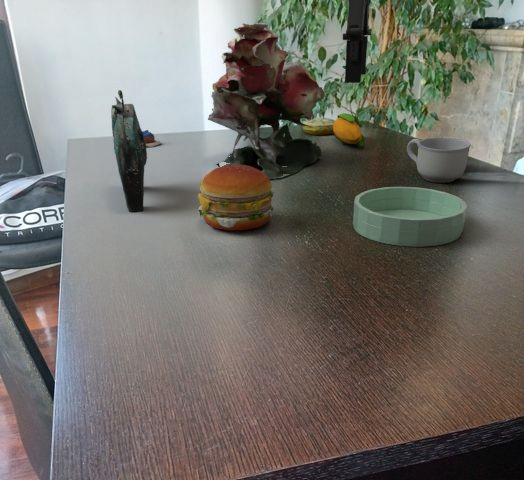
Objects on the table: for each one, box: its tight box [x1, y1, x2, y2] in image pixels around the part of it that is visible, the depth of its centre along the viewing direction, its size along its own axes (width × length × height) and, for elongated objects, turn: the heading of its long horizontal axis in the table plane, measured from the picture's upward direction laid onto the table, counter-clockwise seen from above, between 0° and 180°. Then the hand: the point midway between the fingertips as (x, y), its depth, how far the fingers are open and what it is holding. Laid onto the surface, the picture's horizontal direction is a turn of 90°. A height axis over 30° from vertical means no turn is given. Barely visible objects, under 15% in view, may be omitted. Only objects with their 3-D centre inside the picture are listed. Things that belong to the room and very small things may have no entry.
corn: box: [332, 112, 366, 147], centre depth 155 cm, size 7×8×20 cm
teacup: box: [406, 136, 472, 184], centre depth 125 cm, size 14×11×8 cm
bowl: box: [352, 186, 468, 248], centre depth 98 cm, size 19×19×4 cm
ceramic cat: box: [110, 89, 148, 213], centre depth 111 cm, size 20×6×20 cm, turn 12°
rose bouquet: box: [207, 22, 326, 180], centre depth 133 cm, size 26×29×30 cm
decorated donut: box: [301, 117, 336, 136], centre depth 171 cm, size 10×11×4 cm
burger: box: [197, 165, 275, 231], centre depth 100 cm, size 14×14×10 cm
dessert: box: [142, 129, 162, 148], centre depth 159 cm, size 8×7×6 cm
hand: (355, 78), depth 105 cm, fingers open, 13 cm apart
